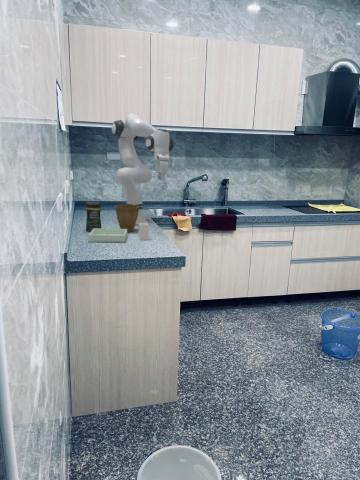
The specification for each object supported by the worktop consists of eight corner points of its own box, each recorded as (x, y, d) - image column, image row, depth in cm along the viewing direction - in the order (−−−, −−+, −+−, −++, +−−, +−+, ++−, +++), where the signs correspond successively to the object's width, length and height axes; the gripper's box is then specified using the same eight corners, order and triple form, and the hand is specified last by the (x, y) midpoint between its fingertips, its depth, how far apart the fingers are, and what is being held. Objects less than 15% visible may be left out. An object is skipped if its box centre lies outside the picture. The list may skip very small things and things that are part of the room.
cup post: (147, 237, 212) (147, 222, 210) (148, 239, 207) (148, 224, 205) (138, 238, 210) (138, 223, 208) (139, 240, 206) (139, 224, 204)
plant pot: (140, 233, 223) (140, 207, 219) (115, 233, 220) (115, 207, 216) (137, 228, 237) (138, 204, 233) (115, 228, 234) (115, 204, 230)
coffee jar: (85, 232, 221) (85, 202, 217) (86, 229, 229) (85, 200, 224) (101, 231, 223) (101, 202, 219) (101, 229, 231) (101, 200, 226)
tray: (93, 234, 214) (93, 228, 213) (127, 235, 216) (127, 229, 215) (88, 242, 197) (88, 235, 196) (124, 242, 198) (124, 235, 197)
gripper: (153, 156, 222) (153, 179, 225) (159, 157, 203) (159, 181, 206) (163, 156, 223) (163, 179, 227) (170, 157, 204) (169, 181, 207)
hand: (161, 180), depth 216 cm, fingers open, 8 cm apart
